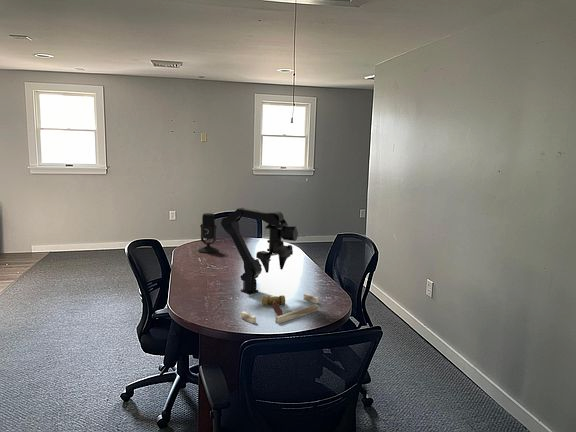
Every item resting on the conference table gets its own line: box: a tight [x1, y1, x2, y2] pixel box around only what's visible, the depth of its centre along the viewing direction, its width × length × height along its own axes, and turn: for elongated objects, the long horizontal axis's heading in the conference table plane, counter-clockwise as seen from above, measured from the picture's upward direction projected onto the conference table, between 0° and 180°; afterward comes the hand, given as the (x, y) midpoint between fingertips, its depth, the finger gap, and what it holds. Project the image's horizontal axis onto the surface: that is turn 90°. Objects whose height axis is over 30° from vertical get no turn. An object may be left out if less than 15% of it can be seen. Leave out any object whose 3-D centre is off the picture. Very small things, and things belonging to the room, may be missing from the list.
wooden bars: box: [240, 293, 320, 325], centre depth 198 cm, size 14×39×2 cm, turn 134°
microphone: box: [197, 212, 219, 254], centre depth 306 cm, size 14×14×25 cm
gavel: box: [261, 294, 286, 316], centre depth 198 cm, size 21×5×10 cm
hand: (274, 270), depth 218 cm, fingers open, 9 cm apart
